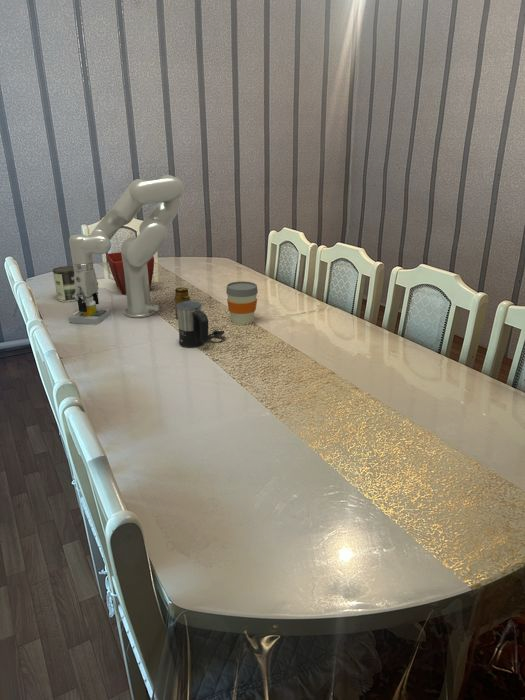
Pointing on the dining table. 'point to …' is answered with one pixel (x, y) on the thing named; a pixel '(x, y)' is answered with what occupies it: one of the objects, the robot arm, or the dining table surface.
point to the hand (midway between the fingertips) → (89, 307)
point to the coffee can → (64, 283)
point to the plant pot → (118, 270)
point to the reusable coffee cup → (242, 301)
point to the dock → (90, 317)
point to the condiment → (180, 297)
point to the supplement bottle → (90, 306)
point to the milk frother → (193, 325)
